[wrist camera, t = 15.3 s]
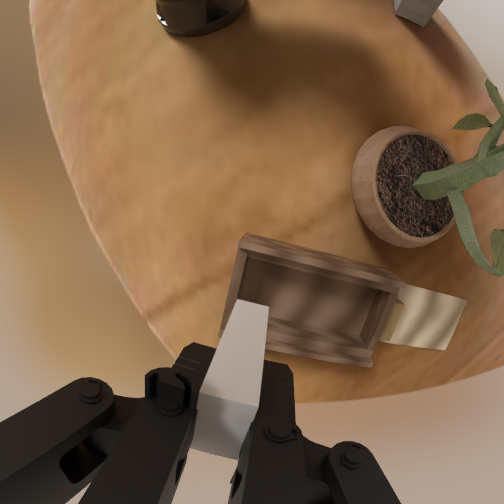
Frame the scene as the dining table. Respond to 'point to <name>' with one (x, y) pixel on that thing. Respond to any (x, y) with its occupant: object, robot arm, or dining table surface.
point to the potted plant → (426, 185)
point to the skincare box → (416, 10)
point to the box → (313, 299)
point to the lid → (422, 318)
